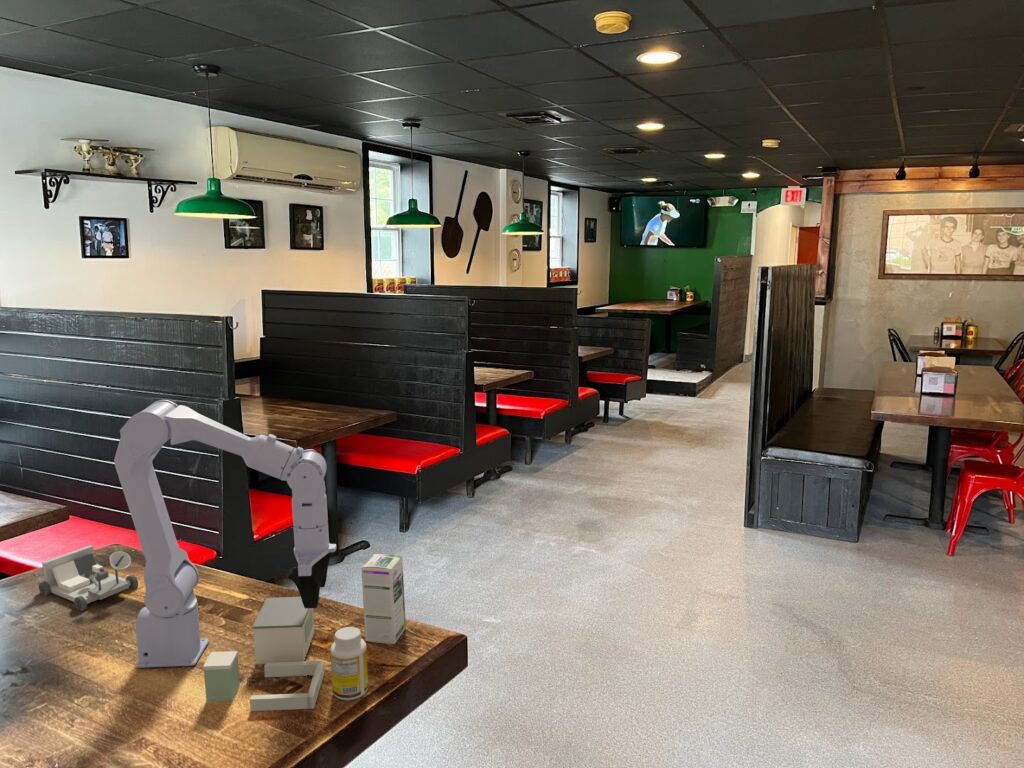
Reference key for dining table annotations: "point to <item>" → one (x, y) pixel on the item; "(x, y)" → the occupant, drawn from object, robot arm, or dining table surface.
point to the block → (221, 676)
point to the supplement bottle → (349, 664)
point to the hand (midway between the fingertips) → (315, 596)
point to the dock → (290, 699)
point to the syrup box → (383, 598)
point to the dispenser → (283, 631)
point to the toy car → (85, 577)
